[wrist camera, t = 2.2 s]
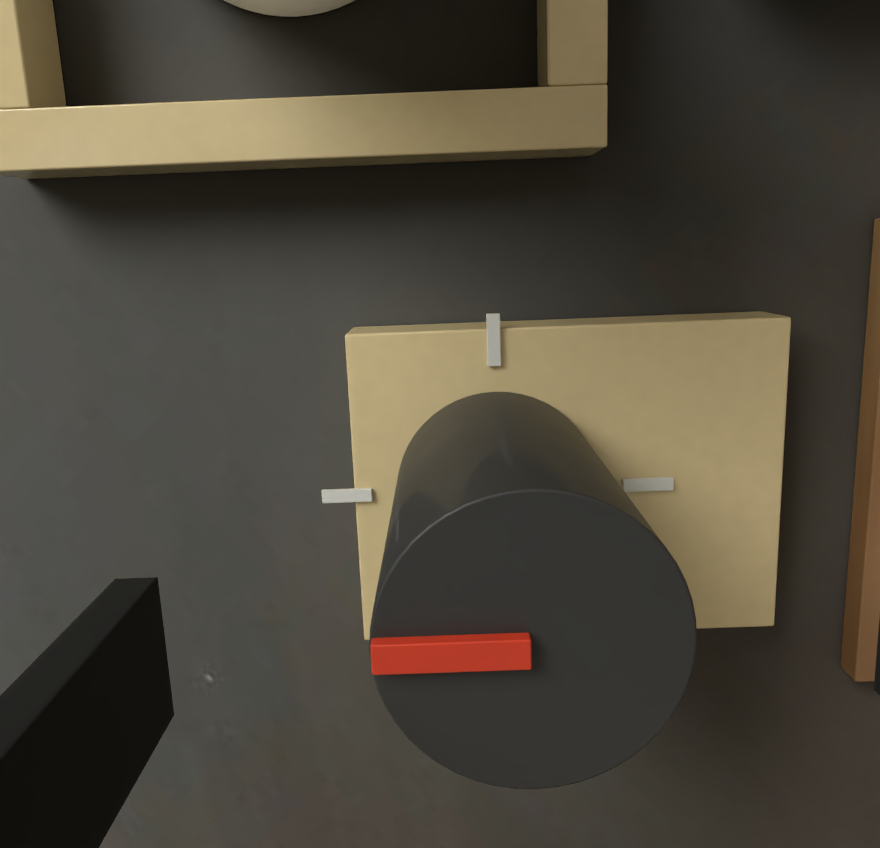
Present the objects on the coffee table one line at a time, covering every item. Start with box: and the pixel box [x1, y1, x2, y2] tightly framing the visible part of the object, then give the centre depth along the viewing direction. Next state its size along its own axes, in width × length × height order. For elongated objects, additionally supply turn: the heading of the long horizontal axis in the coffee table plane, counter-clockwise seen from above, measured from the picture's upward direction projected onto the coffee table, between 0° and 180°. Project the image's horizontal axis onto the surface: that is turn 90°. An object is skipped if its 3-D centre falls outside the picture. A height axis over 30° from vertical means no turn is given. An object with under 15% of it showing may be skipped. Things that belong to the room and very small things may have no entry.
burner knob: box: [369, 392, 697, 789], centre depth 18 cm, size 6×6×9 cm
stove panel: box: [322, 311, 791, 640], centre depth 23 cm, size 13×10×2 cm
